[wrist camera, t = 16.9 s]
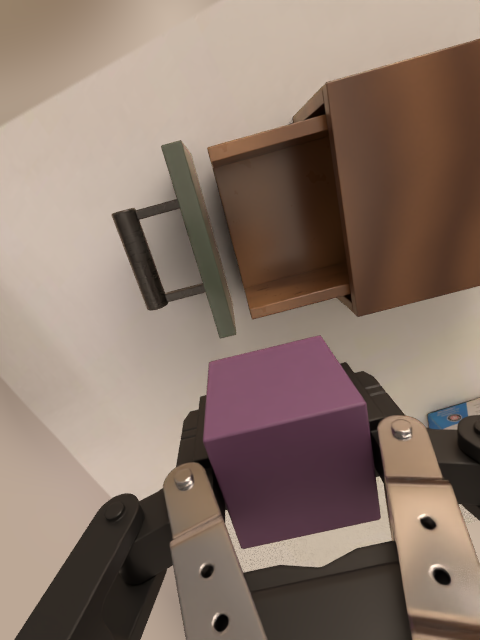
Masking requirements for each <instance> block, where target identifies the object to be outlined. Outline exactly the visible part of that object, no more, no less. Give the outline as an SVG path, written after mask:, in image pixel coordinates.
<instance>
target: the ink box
mask: <svg viewBox="0 0 480 640" xmlns="http://www.w3.org/2000/svg"><path fill="white" fill-rule="evenodd" d="M471 415H480V398H478V399H475V400H472V401H468V402H465V403H462V404H459V405H456V406H452V407H449V408H446V409H443V410H439V411H436V412H433V413H430V414H428V423H429V428H430V429H453V430H457V426H458V423H459V421H460V420H461V419H463V418H465V417H467V416H471Z"/></svg>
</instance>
